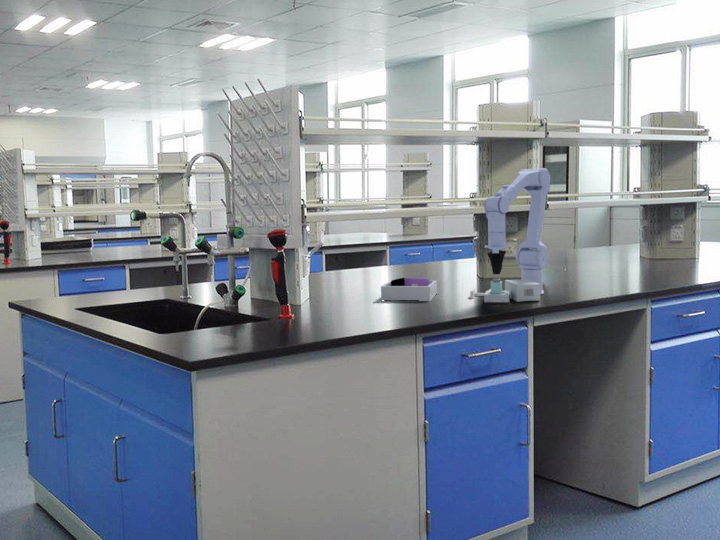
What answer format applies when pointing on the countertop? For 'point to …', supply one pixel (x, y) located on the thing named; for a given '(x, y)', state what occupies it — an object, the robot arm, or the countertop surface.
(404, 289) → the holder corral
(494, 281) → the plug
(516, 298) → the skincare box
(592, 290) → the countertop surface
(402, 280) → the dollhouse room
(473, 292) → the holster
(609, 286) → the countertop surface
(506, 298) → the port
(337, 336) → the countertop surface
